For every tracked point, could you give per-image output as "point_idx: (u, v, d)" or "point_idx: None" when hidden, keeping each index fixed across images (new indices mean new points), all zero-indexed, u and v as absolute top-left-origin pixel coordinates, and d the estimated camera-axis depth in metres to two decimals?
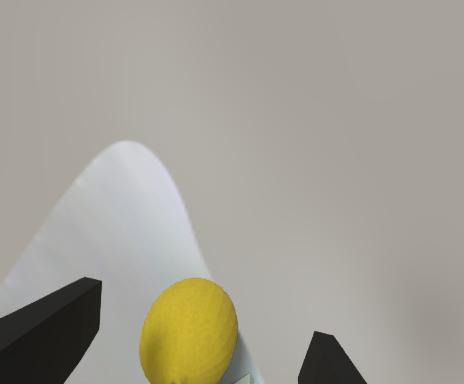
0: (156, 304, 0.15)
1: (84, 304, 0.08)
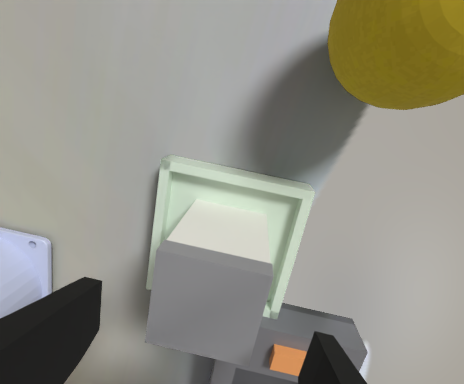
0: None
1: (84, 304, 0.08)
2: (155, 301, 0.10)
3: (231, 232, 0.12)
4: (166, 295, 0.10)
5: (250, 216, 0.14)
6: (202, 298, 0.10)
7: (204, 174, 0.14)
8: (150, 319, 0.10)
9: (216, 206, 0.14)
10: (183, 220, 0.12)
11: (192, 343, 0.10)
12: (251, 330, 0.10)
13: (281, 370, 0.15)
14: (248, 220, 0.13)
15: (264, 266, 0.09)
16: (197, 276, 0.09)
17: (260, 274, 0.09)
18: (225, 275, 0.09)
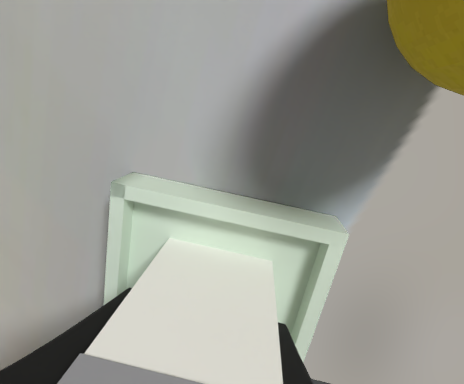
0: None
1: None
2: None
3: (214, 313, 0.07)
4: None
5: (247, 269, 0.09)
6: None
7: (177, 205, 0.09)
8: None
9: (198, 250, 0.10)
10: (135, 289, 0.07)
11: None
12: None
13: None
14: (244, 277, 0.09)
15: None
16: None
17: None
18: None
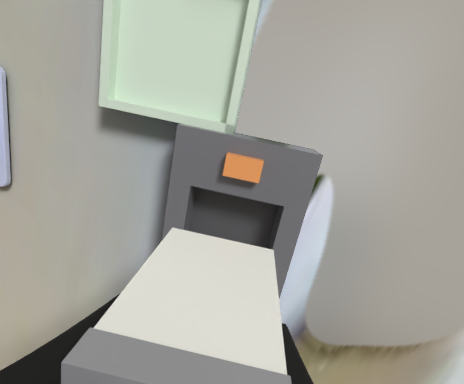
0: None
1: None
2: None
3: (218, 295, 0.07)
4: None
5: (249, 256, 0.09)
6: None
7: None
8: None
9: (201, 239, 0.10)
10: (141, 273, 0.07)
11: None
12: None
13: (234, 175, 0.14)
14: (246, 263, 0.09)
15: None
16: None
17: None
18: None
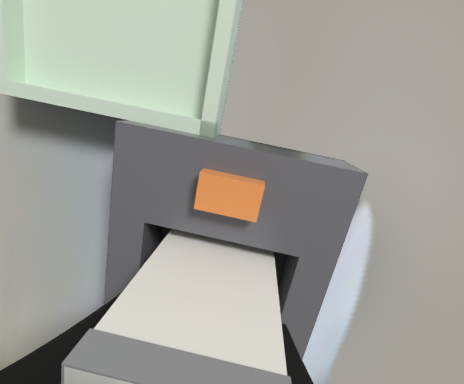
0: None
1: None
2: None
3: (218, 296, 0.07)
4: None
5: (249, 257, 0.09)
6: None
7: None
8: None
9: (201, 239, 0.10)
10: (141, 273, 0.07)
11: None
12: None
13: (214, 209, 0.08)
14: (246, 264, 0.09)
15: None
16: None
17: None
18: None
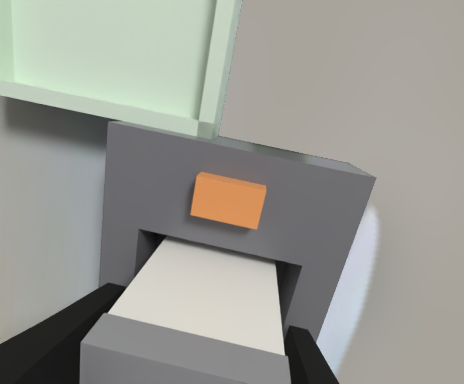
0: None
1: None
2: None
3: (220, 285, 0.08)
4: None
5: None
6: None
7: None
8: None
9: None
10: (148, 264, 0.08)
11: None
12: None
13: (212, 216, 0.08)
14: (247, 257, 0.09)
15: (274, 365, 0.05)
16: None
17: None
18: None
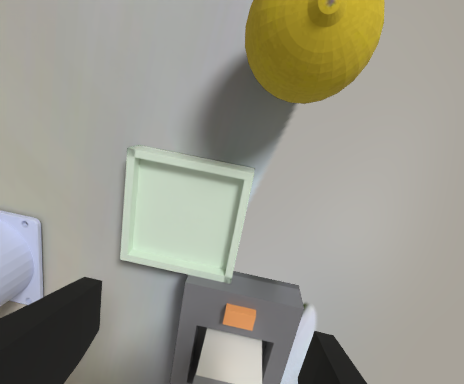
0: None
1: (84, 304, 0.08)
2: None
3: (236, 356, 0.17)
4: None
5: None
6: None
7: (163, 160, 0.16)
8: None
9: None
10: (204, 346, 0.18)
11: None
12: None
13: (232, 324, 0.18)
14: None
15: None
16: None
17: None
18: None
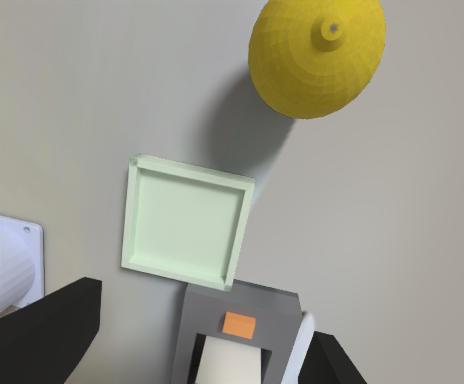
0: None
1: (84, 304, 0.08)
2: None
3: (235, 364, 0.18)
4: None
5: None
6: None
7: (165, 170, 0.17)
8: None
9: None
10: (203, 354, 0.18)
11: None
12: None
13: (231, 333, 0.18)
14: None
15: None
16: None
17: None
18: None
